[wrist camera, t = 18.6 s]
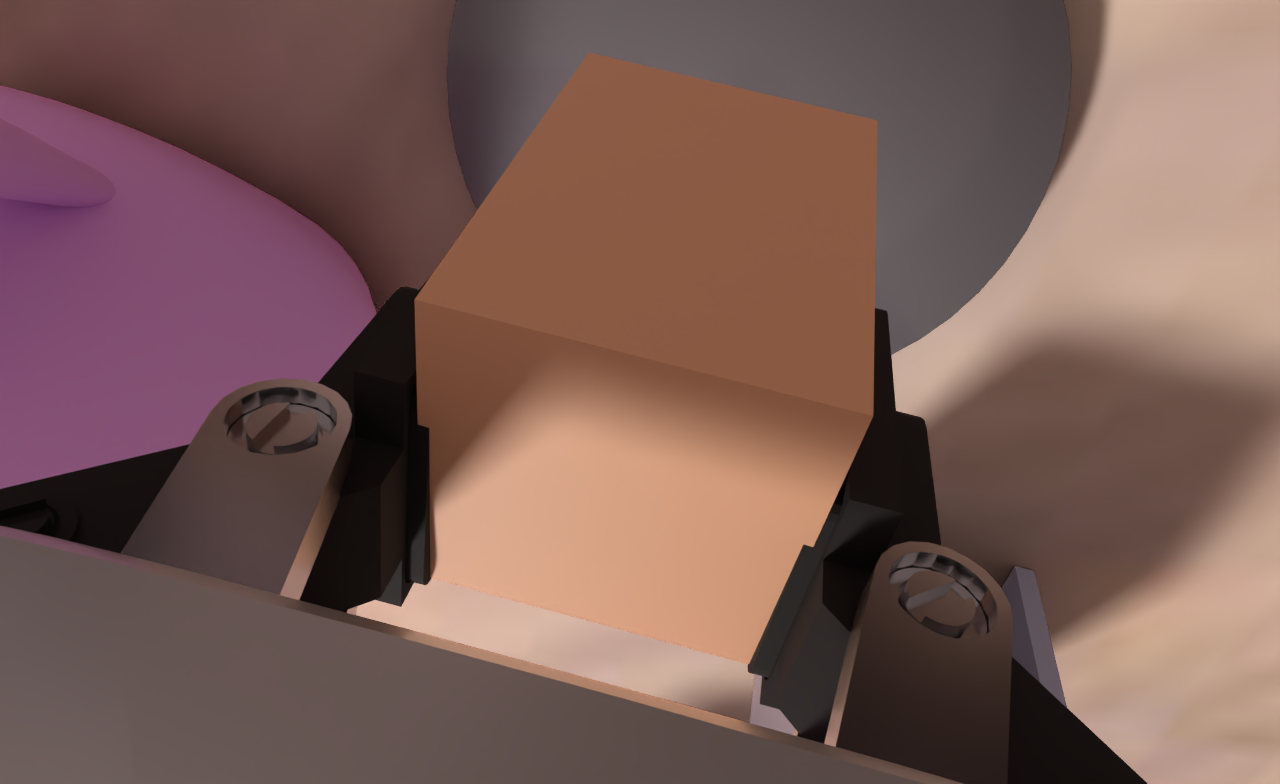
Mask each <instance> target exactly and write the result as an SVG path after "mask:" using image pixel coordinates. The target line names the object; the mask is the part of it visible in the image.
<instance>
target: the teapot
mask: <svg viewBox="0 0 1280 784" xmlns="http://www.w3.org/2000/svg"><path fill="white" fill-rule="evenodd" d="M376 314H377V313H376V310H375V307H374V304H373V301H372V298H371V294H370V291H369V288H368V285H367V284H366V282H365V280H364V278H363V276H362V274H361V273H360V271H359V269H358V267H357V265H356V264H355V262H354V261H353V260H352V258H351V257H350V256H349V255H348V253H347V252H346V251H345V250H344V248H343V247H342V246H341V245H340V244H339V243H338V242H337V241H336V240H335V239H333V238H332V237H331V236H330V235H329V234H328V233H326V232H325V231H324V230H323V229H322V228H321V227H319V226H318V225H317V224H316V223H314V222H313V221H311V220H310V219H308V218H307V217H305V216H303V215H302V214H300V213H299V212H297V211H296V210H294V209H293V208H291V207H289V206H288V205H286V204H285V203H283V202H282V201H280V200H279V199H277V198H275V197H273V196H271V195H269V194H268V193H266V192H264V191H262V190H260V189H258V188H256V187H255V186H253V185H251V184H249V183H247V182H245V181H244V180H242V179H240V178H238V177H236V176H234V175H232V174H231V173H229V172H227V171H225V170H223V169H221V168H219V167H217V166H215V165H213V164H211V163H209V162H207V161H205V160H203V159H201V158H199V157H197V156H195V155H192V154H190V153H188V152H186V151H184V150H182V149H180V148H178V147H176V146H173V145H171V144H169V143H166V142H164V141H162V140H159V139H157V138H155V137H152V136H150V135H147V134H145V133H143V132H140V131H138V130H136V129H133V128H131V127H128V126H125V125H123V124H120V123H117V122H115V121H112V120H109V119H107V118H104V117H101V116H99V115H96V114H93V113H91V112H88V111H85V110H83V109H80V108H77V107H74V106H71V105H67V104H65V103H62V102H59V101H56V100H52V99H49V98H45V97H42V96H38V95H35V94H31V93H27V92H24V91H20V90H17V89H13V88H9V87H5V86H1V85H0V489H2V488H6V487H10V486H15V485H19V484H23V483H27V482H31V481H36V480H40V479H44V478H48V477H53V476H57V475H61V474H65V473H69V472H74V471H78V470H82V469H86V468H91V467H95V466H99V465H103V464H107V463H112V462H116V461H120V460H124V459H129V458H133V457H137V456H141V455H146V454H150V453H154V452H158V451H162V450H167V449H171V448H175V447H179V446H184V445H188V444H190V443H191V442H192V440H193V438H194V437H195V435H196V434H197V432H198V431H199V429H200V427H201V426H202V424H203V423H204V421H205V420H206V418H207V416H208V415H209V413H210V412H211V410H212V409H213V408H214V407H215V406H216V405H217V404H218V403H219V402H220V400H221V399H222V398H223V397H225V396H227V395H228V394H230V393H232V392H233V391H235V390H237V389H239V388H241V387H244V386H247V385H250V384H253V383H256V382H259V381H266V380H273V379H281V378H282V379H303V380H307V381H311V382H315V383H318V382H319V381H320V380H321V378H322V377H323V376H324V375H325V374H326V373H327V371H328V370H329V369H330V368H331V367H332V366H333V364H334V363H335V362H336V361H337V360H338V359H339V357H340V356H341V355H342V354H343V353H344V351H345V350H346V349H347V348H348V347H349V346H350V344H351V343H352V342H353V341H354V340H355V339H356V337H357V336H358V335H359V334H360V333H361V332H362V330H363V329H364V328H365V327H366V326H367V325H368V323H369V322H370V321H371V320H372V319H373V317H374V316H375V315H376Z"/></svg>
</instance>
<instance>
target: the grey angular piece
mask: <svg viewBox="0 0 1280 784" xmlns="http://www.w3.org/2000/svg"><path fill="white" fill-rule="evenodd" d="M1002 590H1003V592H1004V594H1005V596H1006V598H1007V599H1008V601H1009V603H1010V606H1011V612H1012V618H1013V636H1012V657H1013V658H1014V659H1015V660H1016V661H1017V662H1018V663H1019V664H1021V665H1022V666H1023V667H1024V668H1025V669H1026V670H1027V671H1028V672H1029V673H1030V674H1031V675H1032V676H1033V677H1034V678H1035V679H1037V680H1038V681H1039V682H1040V683H1041V684H1042V685H1043V686H1044V687H1045V688H1046V689H1047V690H1048V691H1049V692H1050V693H1051V694H1053V695H1054V696H1055V697H1056V698H1057V699H1058V700H1059V701H1060V702H1061V703H1062V704H1063V705H1064V706H1065V707H1066V708H1067V706H1066V702H1065V697H1064V693H1063V689H1062V685H1061V681H1060V677H1059V672H1058V668H1057V664H1056V660H1055V656H1054V651H1053V647H1052V643H1051V639H1050V635H1049V630H1048V626H1047V622H1046V618H1045V614H1044V609H1043V605H1042V601H1041V597H1040V593H1039V588H1038V584H1037V580H1036V576H1035V572H1034V571H1033V570H1029V569H1025V568H1021V567H1018V566H1015V567H1014V568H1013V570H1012V572H1011V573H1010V575H1009V576H1008V578H1007V580H1006V581H1005V583H1004V584H1003V586H1002ZM761 682H762V676H760V675H756V674H755V676H754V686H753V696H752V705H751V715H750V723H751V724H755V725H759V726H762V727H766V728H769V729H773V730H777V731H780V732H784V733H787V734H791V735H792V734H793V732H794V730H795V728H794V727H793V726H792V724H791V723H790V722H789V721H788V719H787V718H786V717H785V716H784V715H783V713H782V712H781V711H780V710H779V709H776V708H772V707H769V706H765V705H761V704H760V694H761Z"/></svg>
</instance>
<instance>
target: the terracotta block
mask: <svg viewBox="0 0 1280 784" xmlns="http://www.w3.org/2000/svg"><path fill="white" fill-rule="evenodd" d="M876 187H877V120H874V119H870V118H865V117H861V116H857V115H853V114H848V113H844V112H840V111H836V110H831V109H827V108H823V107H819V106H814V105H810V104H806V103H802V102H797V101H793V100H789V99H785V98H780V97H776V96H772V95H768V94H763V93H759V92H755V91H751V90H746V89H742V88H738V87H734V86H729V85H725V84H721V83H717V82H712V81H708V80H704V79H700V78H695V77H691V76H687V75H683V74H679V73H674V72H670V71H666V70H662V69H657V68H653V67H649V66H645V65H640V64H636V63H632V62H628V61H623V60H619V59H615V58H611V57H606V56H602V55H598V54H594V53H588V54H587V55H586V57H585V58H584V60H583V61H582V62H581V64H580V65H579V67H578V68H577V70H576V71H575V72H574V74H573V75H572V77H571V78H570V79H569V81H568V82H567V84H566V85H565V87H564V88H563V89H562V91H561V92H560V94H559V95H558V96H557V98H556V99H555V101H554V102H553V104H552V105H551V106H550V108H549V109H548V111H547V112H546V114H545V115H544V116H543V118H542V119H541V121H540V122H539V123H538V125H537V126H536V128H535V129H534V131H533V132H532V133H531V135H530V136H529V138H528V139H527V140H526V142H525V143H524V145H523V146H522V148H521V149H520V150H519V152H518V153H517V155H516V156H515V158H514V159H513V160H512V162H511V163H510V165H509V166H508V167H507V169H506V170H505V172H504V173H503V175H502V176H501V177H500V179H499V180H498V182H497V183H496V184H495V186H494V187H493V189H492V190H491V192H490V193H489V194H488V196H487V197H486V199H485V200H484V202H483V203H482V204H481V206H480V207H479V209H478V210H477V211H476V213H475V214H474V216H473V217H472V219H471V220H470V221H469V223H468V224H467V226H466V227H465V228H464V230H463V231H462V233H461V234H460V236H459V237H458V238H457V240H456V241H455V243H454V244H453V246H452V247H451V248H450V250H449V251H448V253H447V254H446V255H445V257H444V258H443V260H442V261H441V263H440V264H439V265H438V267H437V268H436V270H435V271H434V272H433V274H432V275H431V277H430V278H429V280H428V281H427V282H426V284H425V285H424V287H423V288H422V289H421V291H420V292H419V294H418V295H417V297H416V298H415V299H414V301H415V339H416V377H417V415H418V425H421V426H425V427H428V428H429V462H430V578H433V579H437V580H440V581H444V582H448V583H451V584H455V585H459V586H462V587H466V588H470V589H473V590H477V591H481V592H484V593H488V594H492V595H495V596H499V597H503V598H507V599H510V600H514V601H518V602H521V603H525V604H529V605H532V606H536V607H540V608H543V609H547V610H551V611H554V612H558V613H562V614H565V615H569V616H573V617H576V618H580V619H584V620H587V621H591V622H595V623H598V624H602V625H606V626H610V627H613V628H617V629H621V630H624V631H628V632H632V633H635V634H639V635H643V636H646V637H650V638H654V639H657V640H661V641H665V642H668V643H672V644H676V645H679V646H683V647H687V648H690V649H694V650H698V651H702V652H705V653H709V654H713V655H716V656H720V657H724V658H727V659H731V660H735V661H738V662H742V663H746V664H749V663H750V661H751V659H752V657H753V654H754V652H755V650H756V648H757V646H758V643H759V641H760V639H761V637H762V634H763V632H764V630H765V628H766V626H767V623H768V621H769V619H770V617H771V615H772V612H773V610H774V608H775V606H776V604H777V601H778V599H779V597H780V595H781V593H782V590H783V588H784V586H785V584H786V582H787V579H788V577H789V575H790V573H791V571H792V568H793V566H794V564H795V562H796V560H797V557H798V555H799V553H800V551H801V549H802V546H803V544H804V545H808V546H811V547H814V544H815V542H816V540H817V538H818V536H819V533H820V531H821V529H822V527H823V525H824V523H825V520H826V518H827V516H828V514H829V512H830V509H831V507H832V505H833V503H834V501H835V499H836V496H837V494H838V492H839V490H840V488H841V485H842V483H843V481H844V479H845V477H846V475H847V472H848V470H849V468H850V466H851V464H852V461H853V459H854V457H855V455H856V453H857V451H858V448H859V446H860V444H861V442H862V440H863V437H864V435H865V433H866V431H867V429H868V427H869V424H870V422H871V420H872V418H873V401H874V330H875V258H876Z"/></svg>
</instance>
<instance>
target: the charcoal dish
mask: <svg viewBox="0 0 1280 784" xmlns="http://www.w3.org/2000/svg"><path fill="white" fill-rule="evenodd" d="M588 53H594V54H598V55H602V56H606V57H611V58H615V59H619V60H623V61H628V62H632V63H636V64H640V65H645V66H649V67H653V68H657V69H662V70H666V71H670V72H674V73H679V74H683V75H687V76H691V77H695V78H700V79H704V80H708V81H712V82H717V83H721V84H725V85H729V86H734V87H738V88H742V89H746V90H751V91H755V92H759V93H763V94H768V95H772V96H776V97H780V98H785V99H789V100H793V101H797V102H802V103H806V104H810V105H814V106H819V107H823V108H827V109H831V110H836V111H840V112H844V113H848V114H853V115H857V116H861V117H865V118H870V119H874V120H877V187H876V258H875V308H878V309H882V310H886V311H887V313H888V322H889V334H890V346H891V355H892V354H894V353H895V352H897V351H899V350H901V349H903V348H905V347H906V346H908V345H910V344H912V343H914V342H916V341H917V340H919V339H921V338H922V337H924V336H925V335H927V334H928V333H930V332H931V331H932V330H934V329H935V328H937V327H938V326H939V325H941V324H942V323H944V322H945V321H947V320H948V319H949V318H951V317H952V316H953V315H954V314H955V313H956V312H958V311H959V310H960V309H961V308H962V307H963V306H964V305H965V304H966V303H968V302H969V301H970V300H971V299H972V298H973V297H974V296H975V295H976V294H978V293H979V292H980V291H981V289H982V288H983V287H984V286H985V285H986V284H987V283H988V281H989V280H990V279H991V278H992V277H993V276H994V275H995V273H996V272H997V271H998V270H999V269H1000V268H1001V267H1002V265H1003V264H1004V263H1005V262H1006V260H1007V259H1008V257H1009V256H1010V254H1011V253H1012V251H1013V250H1014V248H1015V247H1016V246H1017V244H1018V243H1019V241H1020V240H1021V238H1022V237H1023V235H1024V234H1025V232H1026V231H1027V229H1028V227H1029V225H1030V223H1031V221H1032V219H1033V217H1034V215H1035V213H1036V211H1037V209H1038V207H1039V206H1040V204H1041V202H1042V200H1043V198H1044V196H1045V194H1046V191H1047V188H1048V185H1049V183H1050V180H1051V177H1052V174H1053V171H1054V168H1055V166H1056V163H1057V160H1058V157H1059V154H1060V150H1061V145H1062V140H1063V136H1064V131H1065V126H1066V121H1067V117H1068V112H1069V98H1070V84H1071V69H1072V66H1071V52H1070V38H1069V24H1068V18H1067V14H1066V9H1065V5H1064V0H456V5H455V10H454V15H453V21H452V26H451V31H450V37H449V52H448V67H447V85H448V103H449V116H450V121H451V127H452V132H453V138H454V143H455V149H456V153H457V156H458V160H459V163H460V166H461V169H462V173H463V176H464V179H465V182H466V186H467V188H468V190H469V193H470V195H471V197H472V199H473V202H474V204H475V206H476V208H477V210H478V209H479V207H480V206H481V204H482V203H483V202H484V200H485V199H486V197H487V196H488V194H489V193H490V192H491V190H492V189H493V187H494V186H495V184H496V183H497V182H498V180H499V179H500V177H501V176H502V175H503V173H504V172H505V170H506V169H507V167H508V166H509V165H510V163H511V162H512V160H513V159H514V158H515V156H516V155H517V153H518V152H519V150H520V149H521V148H522V146H523V145H524V143H525V142H526V140H527V139H528V138H529V136H530V135H531V133H532V132H533V131H534V129H535V128H536V126H537V125H538V123H539V122H540V121H541V119H542V118H543V116H544V115H545V114H546V112H547V111H548V109H549V108H550V106H551V105H552V104H553V102H554V101H555V99H556V98H557V96H558V95H559V94H560V92H561V91H562V89H563V88H564V87H565V85H566V84H567V82H568V81H569V79H570V78H571V77H572V75H573V74H574V72H575V71H576V70H577V68H578V67H579V65H580V64H581V62H582V61H583V60H584V58H585V57H586V55H587V54H588Z"/></svg>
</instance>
